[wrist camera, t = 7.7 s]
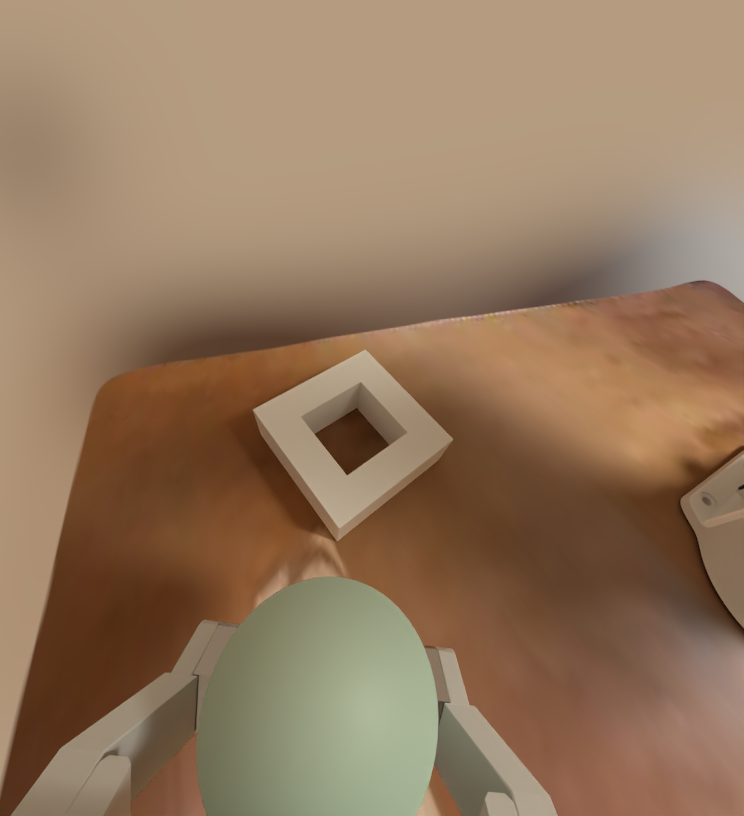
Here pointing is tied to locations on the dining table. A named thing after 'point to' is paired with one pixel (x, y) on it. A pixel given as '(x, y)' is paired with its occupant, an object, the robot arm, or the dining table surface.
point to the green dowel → (319, 709)
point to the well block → (329, 401)
